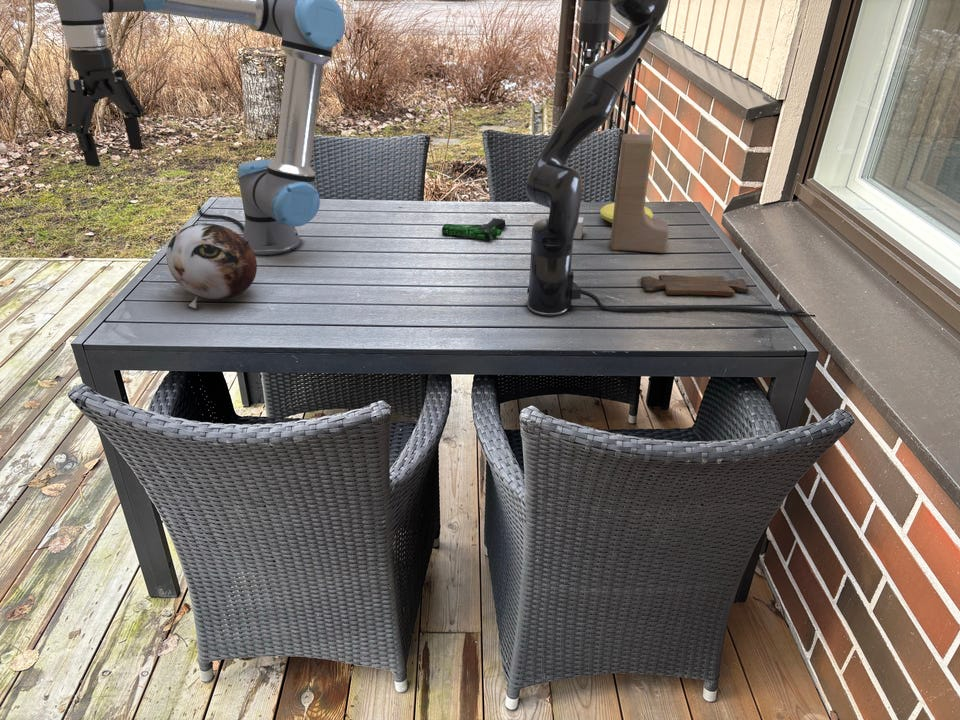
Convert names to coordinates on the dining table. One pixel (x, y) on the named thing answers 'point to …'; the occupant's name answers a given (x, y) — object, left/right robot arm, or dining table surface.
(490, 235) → the handgun
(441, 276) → the dining table surface
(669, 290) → the dark wooden board
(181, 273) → the cat face balloon
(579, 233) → the block
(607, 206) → the yellow rounded disc
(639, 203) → the decorative block
